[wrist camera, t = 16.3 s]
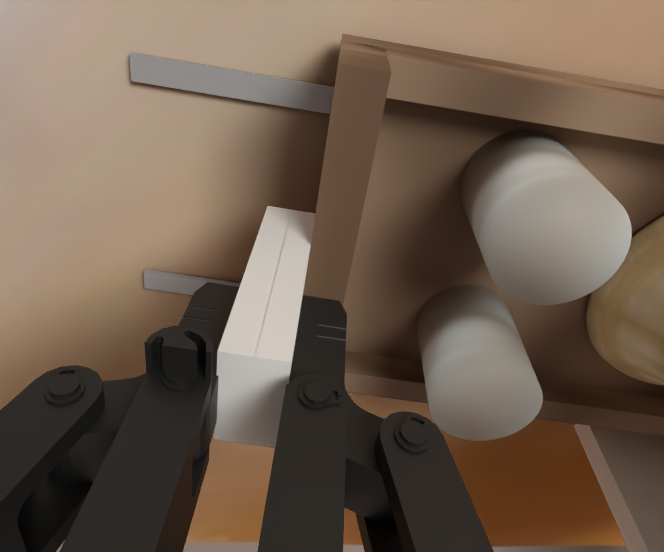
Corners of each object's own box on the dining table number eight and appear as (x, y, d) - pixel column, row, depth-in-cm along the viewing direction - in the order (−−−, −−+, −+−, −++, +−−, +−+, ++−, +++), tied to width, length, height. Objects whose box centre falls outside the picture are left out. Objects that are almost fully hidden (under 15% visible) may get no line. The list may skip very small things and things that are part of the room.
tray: (295, 345, 21) (280, 445, 17) (342, 33, 15) (336, 73, 10) (749, 410, 22) (839, 519, 18) (987, 146, 16) (1215, 223, 11)
